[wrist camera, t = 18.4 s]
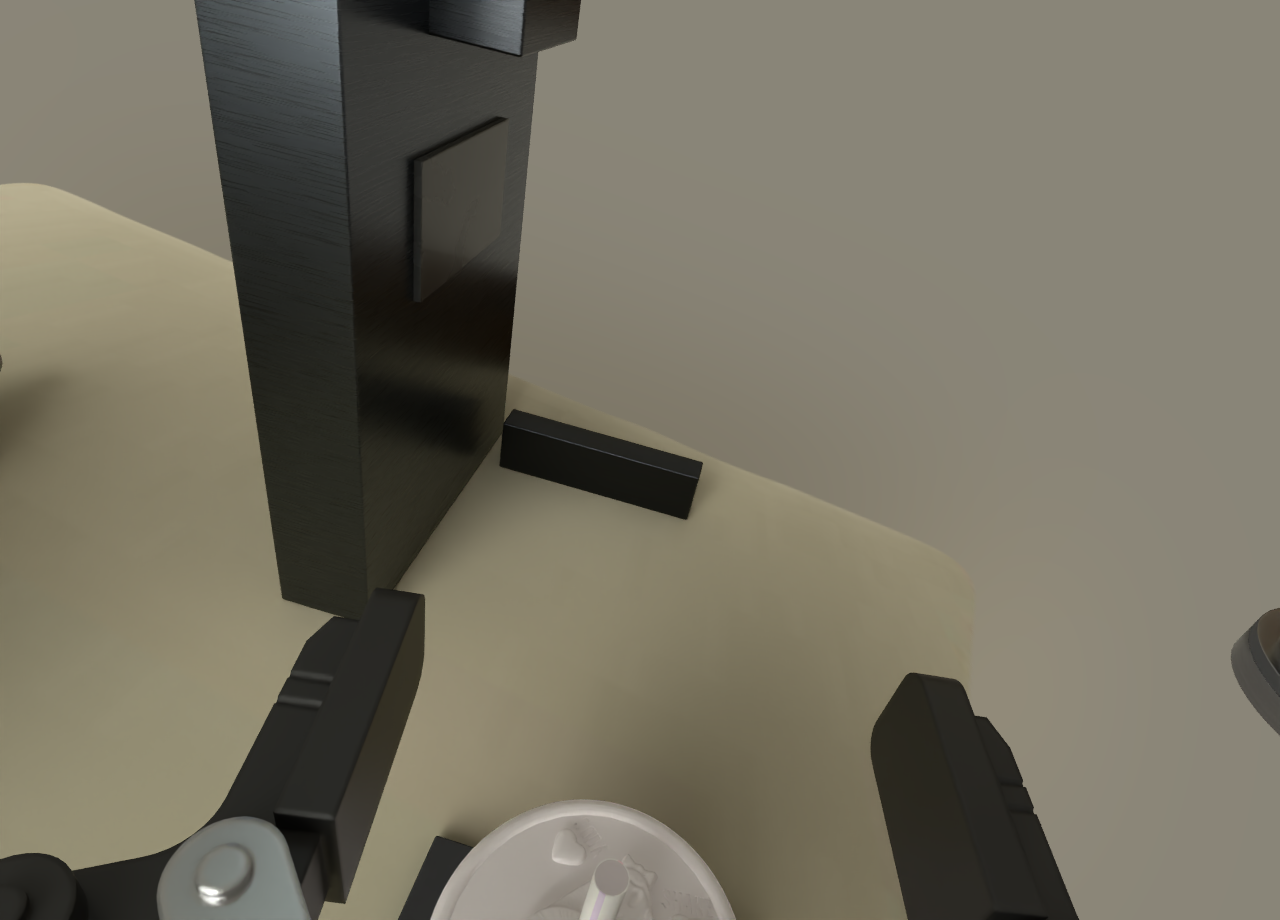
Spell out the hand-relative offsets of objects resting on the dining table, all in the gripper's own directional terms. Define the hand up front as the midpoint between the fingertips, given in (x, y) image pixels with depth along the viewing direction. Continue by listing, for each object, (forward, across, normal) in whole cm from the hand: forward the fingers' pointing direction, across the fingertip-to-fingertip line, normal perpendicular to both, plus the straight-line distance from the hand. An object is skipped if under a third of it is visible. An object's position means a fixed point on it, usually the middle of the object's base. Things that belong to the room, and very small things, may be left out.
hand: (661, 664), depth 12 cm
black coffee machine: (+20, +4, +16) cm, 26 cm away
